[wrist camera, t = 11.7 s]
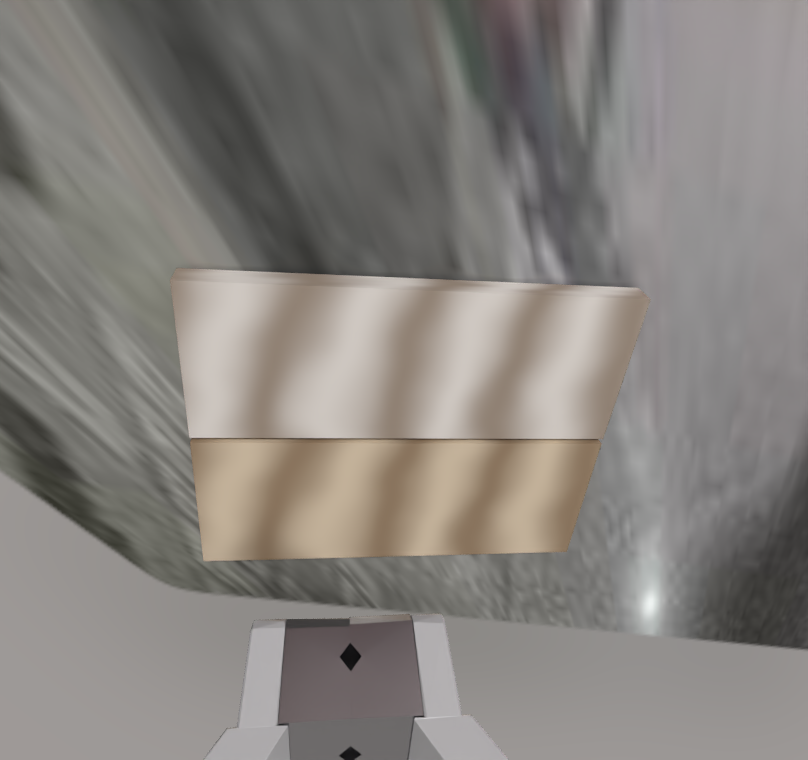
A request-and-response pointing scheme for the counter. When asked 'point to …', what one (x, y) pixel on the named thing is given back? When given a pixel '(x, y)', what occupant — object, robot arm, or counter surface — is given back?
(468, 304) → the whitewashed plank
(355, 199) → the counter surface
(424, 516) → the laid oak row
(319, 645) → the robot arm
